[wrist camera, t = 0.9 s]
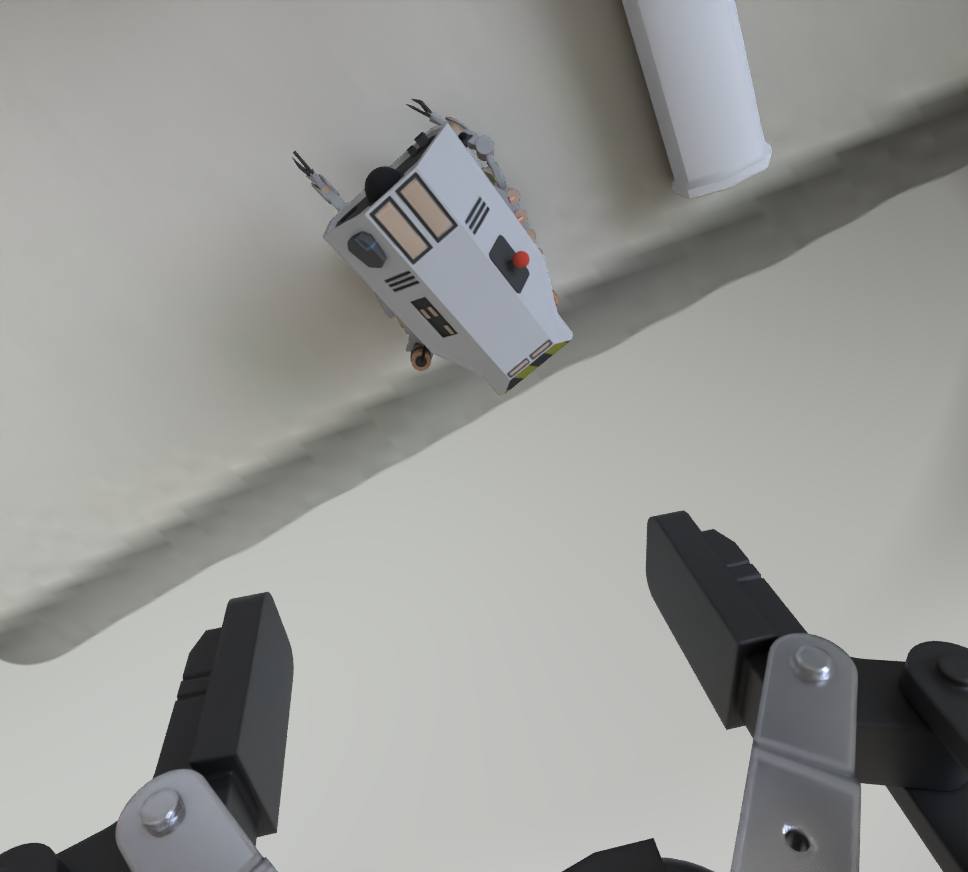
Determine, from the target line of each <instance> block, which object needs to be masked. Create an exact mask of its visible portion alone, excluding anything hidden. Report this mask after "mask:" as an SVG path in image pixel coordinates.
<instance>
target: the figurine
mask: <svg viewBox="0 0 968 872" xmlns="http://www.w3.org/2000/svg"><path fill="white" fill-rule="evenodd" d="M412 100H413V101H415V102H417V103H418V104H420V105H421V106H422V108H423V109H424V111H425V112H426V113H425V112H423V111H421V110H419V109H418V108H416V107H414V106H411V105H408V104H406V105H408V106H409V107H411V108H412V109H414V110H416V111H418V112H420V113H421V114H423V115H425V116H427V117H429V118H430V121H431V122H433V123H435V124H437V125H439V126H436V127H433V128H431V129H430V130H429V131H428V132H427V133H426V134H425V133H423V132H422V133H420V134H419V135H418V136H417V137H416V138H415V139H414V140H415V141H416V143H415V144H414V145H412V146H411V147H409V148H408V149H407V150H406V152H405V153H404V154H403V155H401V156H400V157H399V158H398V159H397V160H396V161H395V162H394V163H393V164H392V165H390V166H389V167H379V168H376V169H374V170H373V171H372V172H371V173H370V174H369V175H368V177H367V179H366V182H365V189H364V190H363V191H362V192H361V193H360V194H359V195H358V196H357V197H356V198H355V199H353V200H352V201H351V202H350V203H345V202H344V201H343V200H342V199H341V198H340V197H339V193H338V191H337V190H336V189H335V188H334V187H333V186H332V185H331V184H330V183H329V182H328V181H327V180H326V179H325V178H324V177H323V176H322V175H320V174H319V175H317V173H316V172H315V171H314V169H312V170H311V168H310V167H309V166H308V165H307V164H306V163H305V162H304V160H303V159H302V158H301V157H300V156H299V154H298V153H297V152H296V151H294V152H293V154H294V155H295V156H296V157H297V158H298V159H299V161H300V162H301V163H302V164H303V165H304V167H305V168H306V169H305V168H304V167H303V166H301V165H300V164H299V163H298V162H297V161H296V160H295V159H294V158H293V157H292V158H293V160H294V162H295V163H296V165H297V166H298V167H299V169H301V170H302V171H303V172H304V173H305V174H307V176H306V177H308V178H309V179H310V180H311V181H312V182H314V183H315V184H313V183H311V184H312V186H313V187H314V189H315V190H316V191H317V192H318V193H319V194H320V195H321V196H322V197H323V198H324V199H325V200H326V201H327V202H328V203H329V204H333V206H334V207H335V208H336V209H337V210H338V211H339V213H338V214H337V215H336V216H335V217H334V218H333V219H332V220H331V221H330V222H329V225H328V227H327V229H326V231H325V233H324V235H323V238H324V239H325V240H326V241H327V242H328V243H329V244H330V245H331V246H332V247H333V249H334V250H335V251H336V252H337V253H338V254H339V255H340V256H341V257H342V258H343V259H344V260H345V261H346V262H347V263H348V264H349V265H350V267H351V268H352V269H353V270H354V271H355V272H356V273H357V274H358V275H359V276H360V277H361V278H362V279H363V280H364V281H365V282H366V283H367V285H368V286H369V287H370V288H371V289H372V290H373V291H374V293H375V295H376V297H377V299H378V301H379V303H380V305H381V306H382V308H383V310H384V311H385V313H386V314H387V315H388V316H389V317H390V318H393V317H395V316H396V317H397V319H398V321H399V323H400V325H401V327H402V328H404V330H405V332H406V334H408V335H409V343H408V345H407V348H406V351H411V362H412V365H413V367H414V368H415V369H417V370H419V371H423V370H426V369H427V368H428V367H429V366H430V364H431V359H432V356H433V354H435V355H437V356H440V357H442V358H444V359H446V360H448V361H450V362H452V363H455V364H457V365H459V366H461V367H463V368H465V369H468V370H470V371H472V372H474V373H476V374H478V375H481V376H482V377H483V379H484V380H485V381H486V382H487V383H488V384H489V385H490V386H491V387H492V388H493V390H494V391H495V392H496V393H497V394H498V395H502V394H505V393H507V392H508V391H509V390H510V389H512V388H513V387H514V386H515V385H516V384H518V383H519V382H520V381H521V380H523V379H524V378H525V377H526V376H528V375H529V374H530V373H531V372H532V371H534V370H535V369H536V368H537V367H539V366H540V365H541V364H542V363H544V362H545V361H546V360H547V359H548V358H550V357H551V356H552V355H553V354H555V353H556V352H557V351H558V350H560V349H561V348H562V347H563V346H564V345H566V344H567V343H568V342H569V341H571V339H572V336H573V333H572V332H571V330H570V329H569V328H568V326H567V325H566V324H565V322H564V321H563V320H562V318H561V317H560V316H559V314H558V313H557V309H556V306H557V304H558V301H559V299H558V295H557V294H556V293H555V292H554V290H552V287H551V282H550V278H549V273H548V269H547V264H546V260H545V257H544V256H543V252H542V250H541V249H540V248H538V247H537V246H536V245H535V237H536V235H535V232H534V231H533V230H532V229H531V228H530V225H529V223H528V221H527V220H528V214H527V213H526V211H525V210H523V209H521V207H520V205H519V201H520V194H519V193H518V191H517V190H515V189H508V187H507V186H506V182H505V179H504V176H503V174H502V171H501V169H500V167H499V165H498V163H497V162H495V161H494V159H493V157H492V156H493V154H494V149H493V148H494V142H493V140H492V139H491V138H490V137H489V136H481V137H479V136H478V135H477V134H476V133H475V132H473V131H471V130H469V129H468V128H467V126H466V125H464V124H463V123H461V122H460V121H458V120H456V119H454V118H451V117H446V118H445V119H444V118H442V117H441V116H439V115H437V114H436V113H435V112H432V111H431V110H430V109H429V108H428V107H427V106H426V105H425V104H424V103H423V101H421V100H416V99H412ZM467 147H469V148H471V149H475V150H476V153H477V156H478V158H479V159H480V160H482V161H487V164H488V166H489V167H487V168H484V167H483V168H480V167H479V165H478V164H477V163H476V161H475V160H474V158H473V157H472V156H471V154H470V153H469V152H468V150H467V149H466V148H467ZM319 177H320V178H319Z"/></svg>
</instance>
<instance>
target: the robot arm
mask: <svg viewBox="0 0 968 872" xmlns="http://www.w3.org/2000/svg"><path fill="white" fill-rule="evenodd" d="M646 577H647V582H648V586H649V589H650V592H651V595H652V597H653V599H654V601H655V603H656V605H657V606H658V608H659V610H660V612H661V614H662V615H663V617H664V619H665V621H666V623H667V624H668V626H669V628H670V630H671V631H672V633H673V635H674V637H675V639H676V641H677V642H678V644H679V646H680V648H681V649H682V651H683V653H684V655H685V657H686V658H687V660H688V662H689V664H690V665H691V667H692V669H693V671H694V673H695V674H696V676H697V678H698V680H699V682H700V683H701V685H702V687H703V689H704V691H705V692H706V694H707V696H708V698H709V700H710V701H711V703H712V705H713V706H714V708H715V710H716V712H717V714H718V716H719V717H720V719H721V721H722V723H723V725H724V726H725V728H726V729H727V730H728V729H732V728H736V727H741V726H745V725H746V727H747V729H748V731H749V732H750V734H751V736H752V737H753V744H752V750H751V756H750V762H749V767H748V773H747V779H746V785H745V790H744V796H743V802H742V807H741V813H740V819H739V825H738V830H737V836H736V842H735V848H734V854H733V859H732V865H731V871H730V872H859V854H860V815H861V785H860V783H866V784H876V785H886V787H887V788H888V790H889V791H890V793H891V794H892V796H893V797H894V799H895V800H896V802H897V803H898V805H899V806H900V808H901V809H902V811H903V812H904V814H905V815H906V817H907V818H908V820H909V821H910V823H911V824H912V826H913V827H914V829H915V830H916V832H917V833H918V835H919V836H920V838H921V839H922V841H923V842H924V844H925V845H926V847H927V848H928V849H929V851H930V852H931V854H932V856H933V857H934V859H935V860H936V862H937V863H938V864H939V866H940V868H941V869H942V871H943V872H968V648H965V647H962V646H960V645H957V644H953V643H948V642H942V641H929V642H924V643H920V644H918V645H916V646H914V647H913V648H912V649H911V650H910V652H909V653H908V657H907V659H906V662H900V661H885V660H870V659H869V660H868V659H860V658H853V657H850V656H849V655H848V654H847V653H846V652H845V651H844V650H843V649H841V648H840V647H839V646H837V645H836V644H834V643H833V642H831V641H829V640H827V639H825V638H822V637H819V636H816V635H811V634H808V633H807V632H806V631H805V630H804V628H803V627H802V626H801V624H800V623H799V622H798V621H797V619H796V618H795V617H794V616H793V614H792V613H791V612H790V611H789V609H788V608H787V607H786V606H785V605H784V603H783V602H782V601H781V600H780V598H779V597H778V596H777V594H776V593H775V592H774V591H773V589H772V588H771V587H770V586H769V584H768V583H767V582H766V581H765V579H764V578H763V579H762V578H761V574H760V573H759V572H758V571H757V569H756V568H755V567H754V566H753V564H750V562H749V559H748V558H747V557H746V556H745V554H744V553H743V552H742V551H741V549H740V548H739V547H738V546H737V545H736V543H735V542H733V541H732V540H730V539H729V538H727V537H725V536H724V535H722V534H720V533H719V532H717V531H716V530H714V529H712V530H707V531H702V532H701V530H700V529H699V528H698V526H697V525H696V524H695V522H694V521H693V520H692V518H691V517H690V516H689V514H688V513H687V512H685V511H678V512H674V513H668V514H663V515H658V516H653V517H650V518H649V519H648V523H647V550H646ZM293 669H294V668H293V655H292V650H291V645H290V642H289V639H288V637H287V634H286V631H285V629H284V626H283V624H282V621H281V618H280V616H279V613H278V610H277V608H276V605H275V603H274V600H273V598H272V596H271V594H270V593H269V592H265V593H259V594H254V595H249V596H244V597H239V598H234V599H231V600H230V601H229V602H228V605H227V608H226V612H225V617H224V621H223V625H222V627H221V628H216V629H211V630H206V631H205V633H204V634H203V635H202V637H201V638H200V639H199V641H198V642H197V644H196V645H195V646H194V648H193V649H192V650H191V652H190V653H189V656H188V660H187V663H186V667H185V670H184V673H183V681H181V684H180V688H179V691H178V695H177V698H178V699H177V701H176V702H175V705H174V708H173V712H172V715H171V719H170V722H169V726H168V729H167V733H166V736H165V740H164V743H163V747H162V750H161V753H160V757H159V761H158V764H157V767H156V771H155V774H154V777H153V779H152V780H151V781H149V782H148V783H146V784H145V785H144V786H143V787H141V788H140V789H139V790H138V791H137V792H136V793H135V794H134V795H133V796H132V798H131V799H130V800H129V801H128V803H127V804H126V806H125V807H124V809H123V811H122V813H121V815H120V817H119V819H118V821H116V822H115V823H114V824H112V825H111V826H109V827H107V828H106V829H104V830H102V831H100V832H98V833H96V834H94V835H92V836H90V837H89V838H87V839H85V840H83V841H81V842H79V843H78V844H75V845H73V846H71V847H69V848H68V849H66V850H64V851H62V852H60V853H58V854H55V853H54V852H53V850H52V849H51V848H50V847H48V846H46V845H44V844H40V843H28V844H23V845H20V846H17V847H14V848H12V849H10V850H8V851H6V852H4V853H2V854H0V872H278V871H277V870H276V869H275V867H274V866H273V865H272V864H271V862H270V861H269V860H268V859H267V858H266V857H265V858H263V857H262V855H261V854H260V853H259V851H258V850H257V849H256V847H255V846H256V838H257V837H260V836H264V835H268V834H273V833H277V825H278V815H279V806H280V796H281V787H282V777H283V768H284V758H285V749H286V739H287V730H288V720H289V711H290V710H289V709H290V701H291V692H292V682H293ZM562 872H713V871H711V870H709V869H707V868H705V867H703V866H699V865H696V864H694V863H690V862H687V861H682V860H678V859H672V858H661V856H660V854H659V851H658V849H657V846H656V843H655V841H654V839H653V838H652V839H648V840H644V841H639V842H636V843H632V844H627V845H624V846H619V847H615V848H611V849H607V850H603V851H599V852H595V853H593V854H591V855H590V856H588V857H586V858H584V859H583V860H581V861H580V862H578V863H576V864H574V865H573V866H571V867H569V868H567V869H566V870H564V871H562Z"/></svg>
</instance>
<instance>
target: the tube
mask: <svg viewBox="0 0 968 872" xmlns="http://www.w3.org/2000/svg"><path fill="white" fill-rule="evenodd" d="M622 3H623V6H624V9H625V13H626V16H627V20H628V23H629V26H630V30H631V33H632V37H633V40H634V43H635V47H636V50H637V54H638V57H639V60H640V64H641V67H642V71H643V74H644V77H645V81H646V84H647V88H648V91H649V94H650V98H651V101H652V105H653V108H654V111H655V115H656V118H657V122H658V125H659V128H660V132H661V135H662V139H663V142H664V145H665V149H666V152H667V156H668V159H669V162H670V166H671V169H672V173H673V177H674V181H673V183H672V188H673V192H674V193H676V194H679V195H681V196H684V197H687V198H689V199H693V198H697V197H700V196H704V195H707V194H711V193H714V192H718V191H721V190H725V189H728V188H731V187H733V186H735V185H737V184H738V183H740V182H742V181H744V180H746V179H748V178H750V177H752V176H754V175H756V174H757V173H759V172H761V171H763V170H765V169H767V167H768V163H769V160H770V157H771V154H772V150H771V146H770V144H768V143H766V142H765V139H764V136H763V131H762V126H761V122H760V117H759V112H758V108H757V103H756V98H755V94H754V89H753V84H752V80H751V75H750V70H749V65H748V61H747V56H746V51H745V47H744V42H743V37H742V33H741V28H740V23H739V19H738V14H737V9H736V4H735V0H622Z"/></svg>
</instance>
